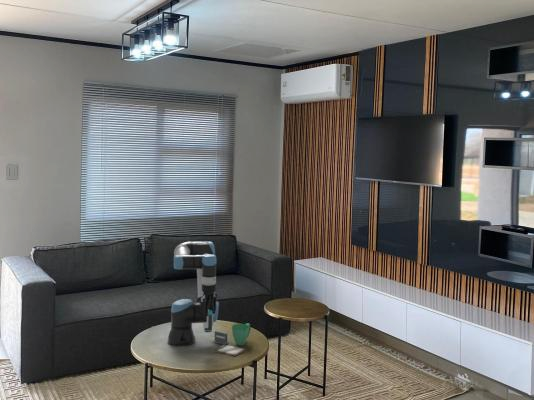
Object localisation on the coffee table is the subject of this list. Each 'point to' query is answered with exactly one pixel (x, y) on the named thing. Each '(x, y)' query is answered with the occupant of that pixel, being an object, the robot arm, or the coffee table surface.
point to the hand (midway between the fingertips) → (208, 326)
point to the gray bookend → (220, 338)
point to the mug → (241, 333)
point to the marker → (209, 322)
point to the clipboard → (230, 350)
